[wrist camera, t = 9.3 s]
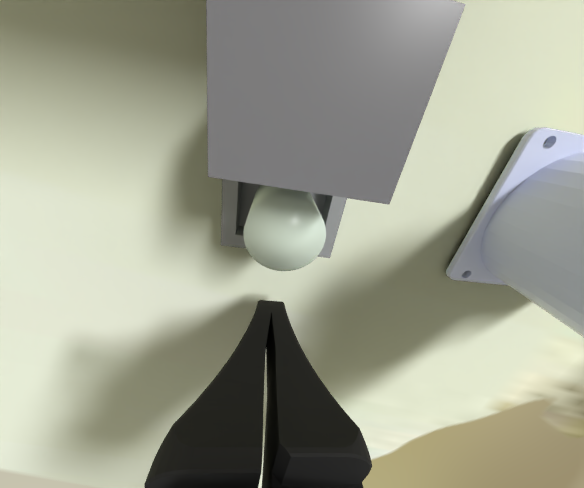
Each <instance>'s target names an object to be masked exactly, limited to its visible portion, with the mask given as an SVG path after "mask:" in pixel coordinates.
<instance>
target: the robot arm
mask: <svg viewBox="0 0 584 488" xmlns="http://www.w3.org/2000/svg"><path fill="white" fill-rule="evenodd" d="M546 139H547V140H546ZM545 140H546V142H545V144H544V141H545ZM543 144H544V145H543ZM446 275H447V276H448V277H449V278H451V279H452V280H459V281H469V282H479V283H489V284H499V285H509V286H510V287H512V288H513V289H515V290H516V291H518V292H519V293H520V294H522V295H523V296H525V297H526V298H528V299H529V300H531V301H532V302H533V303H535V304H536V305H538V306H539V307H541V308H542V309H544V310H545V311H546V312H548V313H549V314H551V315H552V316H554V317H555V318H557V319H558V320H560V321H561V322H562V323H564V324H565V325H567V326H568V327H570V328H571V329H573V330H574V331H575V332H577V333H578V334H580V335H581V336H583V337H584V135H581V134H576V133H571V132H566V131H561V130H556V129H551V128H533V129H531V130H529V131H528V132H527V133H525V135H524V136H523V137H522V139H521V140H520V142H519V144H518V146H517V147H516V149H515V151H514V153H513V154H512V156H511V158H510V160H509V161H508V163H507V165H506V167H505V168H504V170H503V172H502V174H501V175H500V177H499V179H498V181H497V182H496V184H495V186H494V188H493V189H492V191H491V193H490V195H489V196H488V198H487V200H486V202H485V203H484V205H483V207H482V209H481V210H480V212H479V214H478V216H477V217H476V219H475V221H474V223H473V224H472V226H471V228H470V230H469V231H468V233H467V235H466V237H465V238H464V240H463V242H462V244H461V245H460V247H459V249H458V251H457V252H456V254H455V256H454V258H453V259H452V261H451V263H450V265H449V266H448V268H447V270H446ZM265 351H266V355H267V413H266V430H265V447H264V463H263V478H262V488H363V485H362V481H363V480H364V479H365V478H366V476H367V475H368V474H369V472H370V470H371V467H372V464H371V459H370V455H369V452H368V449H367V446H366V443H365V441H364V438H363V436H362V433H361V431H360V429H359V427H358V426H357V425H356V424H355V423H354V422H353V421H352V419H351V418H350V417H349V416H348V415H347V414H346V412H345V411H344V410H343V409H342V408H341V407H340V405H339V404H338V403H337V401H336V400H335V399H334V398H333V396H332V395H331V394H330V392H329V391H328V390H327V388H326V387H325V385H324V384H323V383H322V381H321V380H320V378H319V377H318V376H317V374H316V372H315V371H314V369H313V368H312V366H311V364H310V363H309V361H308V359H307V358H306V356H305V354H304V352H303V350H302V348H301V346H300V344H299V342H298V340H297V338H296V336H295V334H294V331H293V329H292V327H291V324H290V321H289V319H288V316H287V313H286V309H285V305H284V303H283V302H277V301H264V300H260V301H258V304H257V308H256V311H255V313H254V316H253V318H252V320H251V322H250V324H249V326H248V329H247V331H246V332H245V334H244V336H243V338H242V339H241V341H240V343H239V345H238V346H237V348H236V349H235V351H234V352H233V354H232V355H231V357H230V358H229V360H228V361H227V363H226V364H225V365H224V367H223V368H222V369H221V371H220V372H219V373H218V375H217V376H216V377H215V379H214V380H213V381H212V382H211V383H210V385H209V386H208V387H207V388H206V389H205V391H204V392H203V393H202V394H201V395H200V396H199V398H198V399H197V400H196V401H195V402H194V403H193V404H192V405H191V406H190V407H189V408H188V410H187V411H186V412H185V413H184V414H183V415H182V416H181V417H180V418H179V419H178V420H177V421H176V422H175V423H174V424H173V426H172V427H171V429H170V431H169V432H168V434H167V436H166V437H165V439H164V441H163V443H162V444H161V446H160V448H159V450H158V452H157V454H156V456H155V459H154V461H153V463H152V466H151V469H150V471H149V474H148V477H147V479H146V482H145V488H258V484H259V480H260V475H261V465H262V441H263V398H264V370H265Z"/></svg>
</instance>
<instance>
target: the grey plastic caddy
mask: <svg viewBox="0 0 584 488" xmlns="http://www.w3.org/2000/svg"><path fill="white" fill-rule="evenodd" d="M464 7H465V4H463V3H460V2H456V1H453V0H206V10H207V119H208V177H213V178H219V179H222V223H221V245H223V246H232V247H240V248H247V250H248V252H249V253H250V255H251V256H252V257H253V258H254V259H255V260H256V261H257V262H258V263H260V264H261V265H263V266H265V267H267V268H269V269H273V270H278V271H291V270H296V269H299V268H302V267H304V266H306V265H308V264H309V263H311V262H312V261H313V260H314V259H315V258H316V257H317V256H318V257H326V258H330V256H331V252H332V249H333V245H334V242H335V238H336V235H337V231H338V228H339V224H340V221H341V217H342V214H343V210H344V207H345V203H346V200H347V198H350V199H357V200H363V201H370V202H376V203H383V204H390V201H391V198H392V196H393V193H394V191H395V188H396V185H397V183H398V180H399V177H400V175H401V172H402V170H403V167H404V164H405V162H406V159H407V156H408V154H409V151H410V149H411V146H412V143H413V141H414V138H415V135H416V133H417V130H418V128H419V125H420V122H421V120H422V117H423V115H424V112H425V109H426V107H427V104H428V101H429V99H430V96H431V94H432V91H433V88H434V86H435V83H436V80H437V78H438V75H439V73H440V70H441V67H442V65H443V62H444V59H445V57H446V54H447V52H448V49H449V46H450V44H451V41H452V38H453V36H454V33H455V31H456V28H457V25H458V23H459V20H460V18H461V15H462V12H463V10H464Z"/></svg>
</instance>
